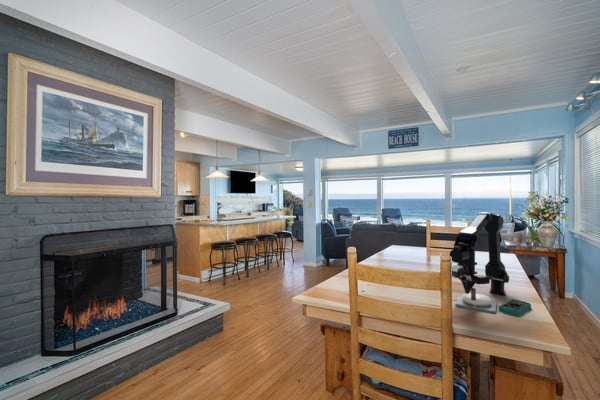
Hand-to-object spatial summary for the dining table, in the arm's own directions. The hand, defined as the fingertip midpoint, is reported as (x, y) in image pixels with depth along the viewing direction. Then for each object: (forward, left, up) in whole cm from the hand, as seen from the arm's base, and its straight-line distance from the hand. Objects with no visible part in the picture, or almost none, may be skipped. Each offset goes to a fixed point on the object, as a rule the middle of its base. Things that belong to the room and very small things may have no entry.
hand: (467, 293), depth 132 cm
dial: (-3, +3, -4) cm, 6 cm away
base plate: (-3, +3, -5) cm, 7 cm away
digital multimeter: (-5, +17, -6) cm, 19 cm away
